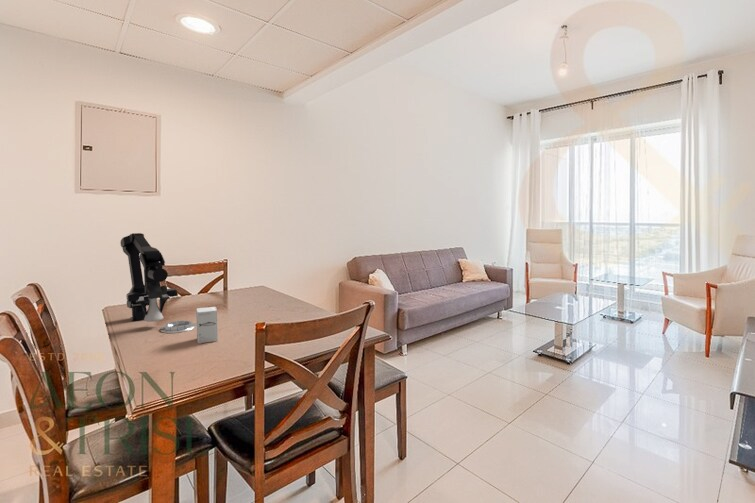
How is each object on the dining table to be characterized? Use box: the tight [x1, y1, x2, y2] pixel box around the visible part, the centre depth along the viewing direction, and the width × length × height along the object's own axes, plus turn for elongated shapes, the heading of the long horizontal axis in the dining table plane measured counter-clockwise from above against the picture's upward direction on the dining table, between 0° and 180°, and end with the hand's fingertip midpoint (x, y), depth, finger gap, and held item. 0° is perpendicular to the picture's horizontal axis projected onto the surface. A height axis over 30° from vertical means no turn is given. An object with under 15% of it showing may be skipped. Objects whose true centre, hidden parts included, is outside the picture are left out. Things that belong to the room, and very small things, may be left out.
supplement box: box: [195, 306, 219, 344], centre depth 149 cm, size 7×7×13 cm
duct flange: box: [159, 319, 197, 334], centre depth 164 cm, size 14×14×2 cm
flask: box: [143, 298, 165, 322], centre depth 164 cm, size 7×7×10 cm
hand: (153, 313), depth 164 cm, fingers closed on flask, 5 cm apart
